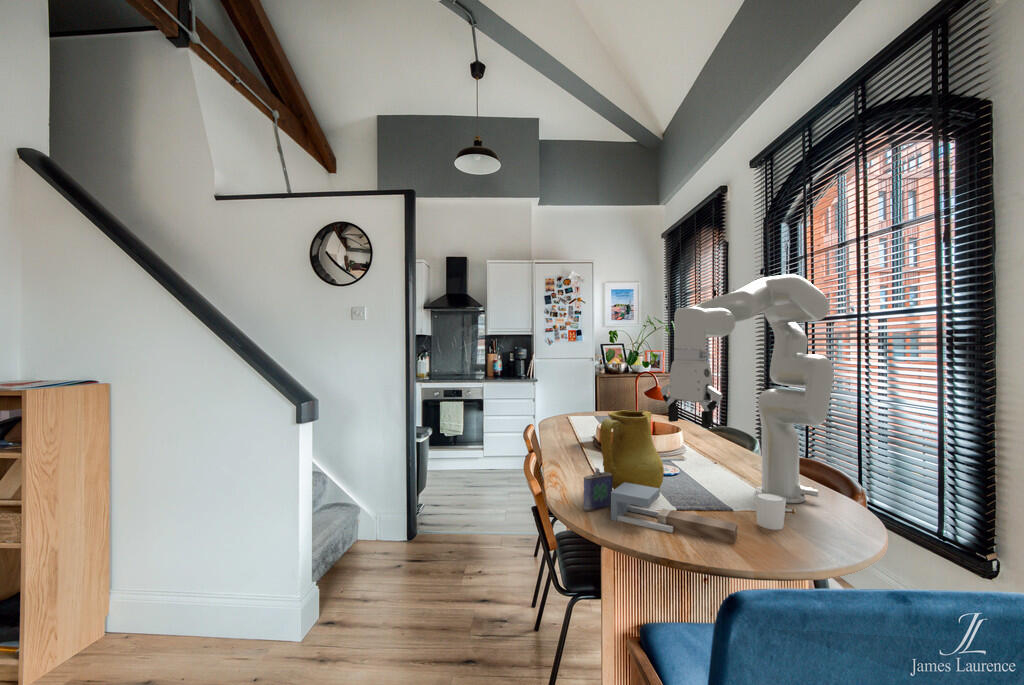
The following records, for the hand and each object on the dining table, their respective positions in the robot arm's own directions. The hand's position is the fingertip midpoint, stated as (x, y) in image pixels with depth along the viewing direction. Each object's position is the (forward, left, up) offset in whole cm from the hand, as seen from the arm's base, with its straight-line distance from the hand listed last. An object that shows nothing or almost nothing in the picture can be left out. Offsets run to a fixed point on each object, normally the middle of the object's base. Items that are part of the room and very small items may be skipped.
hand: (689, 424), depth 113 cm
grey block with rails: (+9, +5, -24) cm, 27 cm away
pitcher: (+19, -11, -25) cm, 33 cm away
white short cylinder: (-17, -9, -25) cm, 31 cm away
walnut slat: (-3, +5, -25) cm, 25 cm away
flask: (+23, +4, -25) cm, 34 cm away
